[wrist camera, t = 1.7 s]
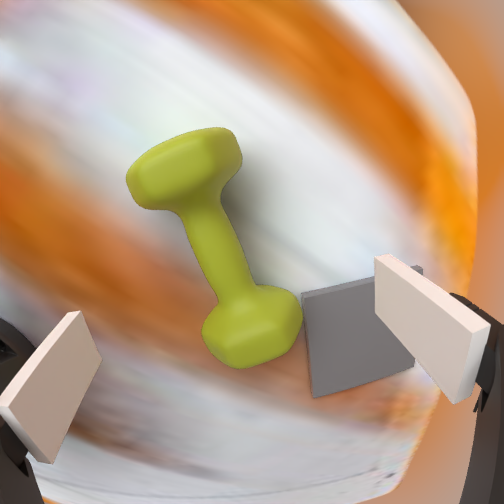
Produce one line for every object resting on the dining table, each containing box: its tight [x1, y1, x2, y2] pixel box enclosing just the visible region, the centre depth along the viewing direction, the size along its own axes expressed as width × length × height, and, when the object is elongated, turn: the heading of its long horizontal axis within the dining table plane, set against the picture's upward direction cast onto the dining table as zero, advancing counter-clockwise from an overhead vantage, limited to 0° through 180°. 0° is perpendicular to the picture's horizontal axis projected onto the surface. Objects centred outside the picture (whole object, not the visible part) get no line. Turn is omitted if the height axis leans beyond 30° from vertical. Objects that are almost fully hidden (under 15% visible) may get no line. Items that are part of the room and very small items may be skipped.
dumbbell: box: [126, 127, 303, 369], centre depth 22 cm, size 16×8×7 cm, turn 21°
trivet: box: [301, 265, 423, 398], centre depth 28 cm, size 12×12×1 cm
